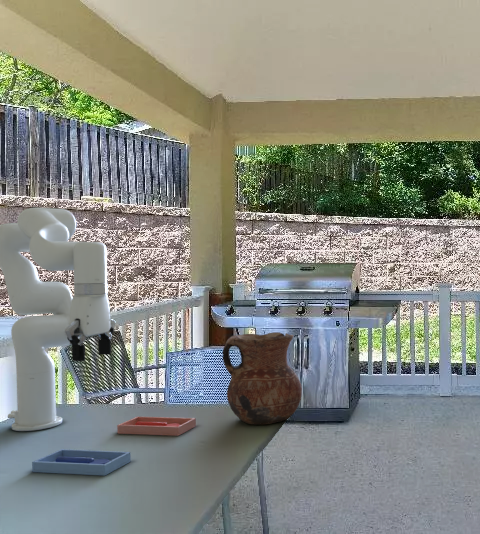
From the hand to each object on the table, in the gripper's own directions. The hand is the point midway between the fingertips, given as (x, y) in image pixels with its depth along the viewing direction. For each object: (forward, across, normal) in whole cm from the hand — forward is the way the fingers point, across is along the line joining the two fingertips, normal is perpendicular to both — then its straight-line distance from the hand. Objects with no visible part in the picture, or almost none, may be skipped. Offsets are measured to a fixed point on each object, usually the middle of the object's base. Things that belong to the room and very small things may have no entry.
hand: (92, 357), depth 154 cm
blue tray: (+22, +15, +8) cm, 28 cm away
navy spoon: (+22, +15, +8) cm, 28 cm away
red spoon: (+22, -15, +8) cm, 28 cm away
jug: (+22, -29, +34) cm, 50 cm away
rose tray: (+23, -15, +8) cm, 28 cm away
